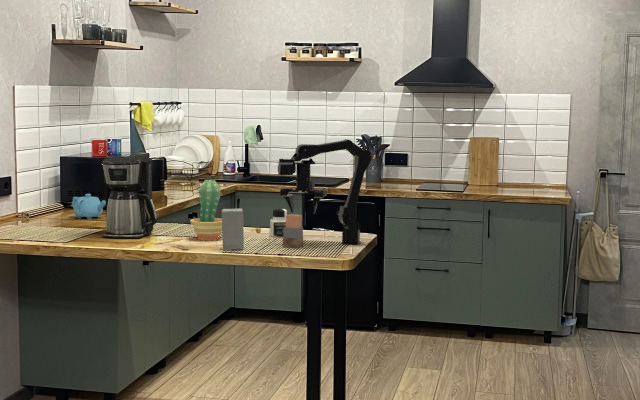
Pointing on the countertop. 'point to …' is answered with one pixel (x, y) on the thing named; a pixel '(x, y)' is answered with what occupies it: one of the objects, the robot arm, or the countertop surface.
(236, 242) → the skincare box
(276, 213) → the medicine bottle
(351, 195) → the robot arm
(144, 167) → the coffee maker
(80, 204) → the teapot
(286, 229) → the charcoal block
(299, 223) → the terracotta cube
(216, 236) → the potted cactus
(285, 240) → the walnut block
